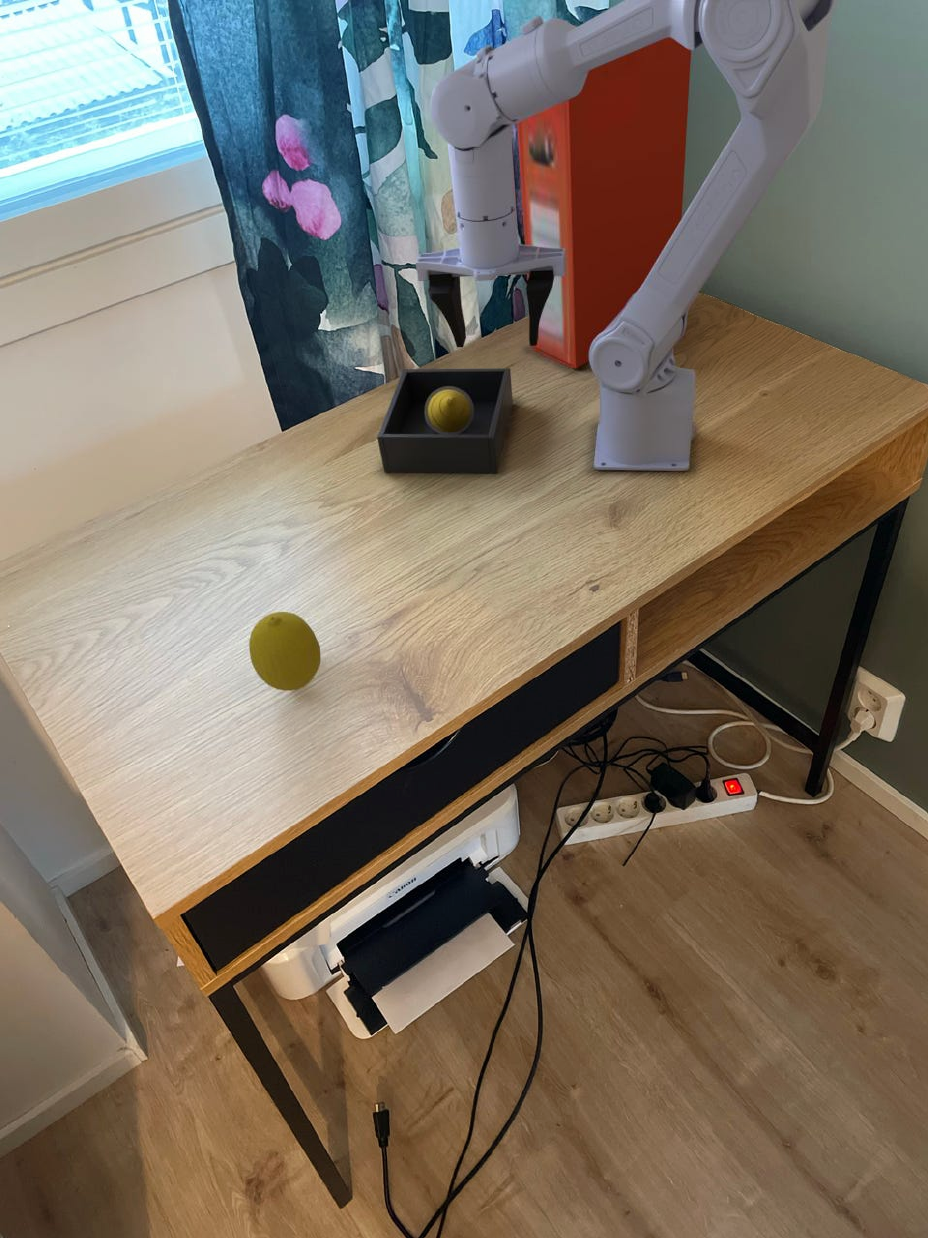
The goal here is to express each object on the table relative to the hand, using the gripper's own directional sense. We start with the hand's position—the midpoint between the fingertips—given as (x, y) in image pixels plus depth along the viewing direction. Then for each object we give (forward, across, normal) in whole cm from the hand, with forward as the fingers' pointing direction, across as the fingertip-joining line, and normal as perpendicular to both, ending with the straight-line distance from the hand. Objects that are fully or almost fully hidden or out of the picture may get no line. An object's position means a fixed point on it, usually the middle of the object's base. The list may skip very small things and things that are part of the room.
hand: (497, 341), depth 94 cm
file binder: (+10, +10, +19) cm, 23 cm away
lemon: (+10, -13, -40) cm, 43 cm away
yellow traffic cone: (+9, -5, -4) cm, 11 cm away
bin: (+9, -6, -4) cm, 11 cm away
